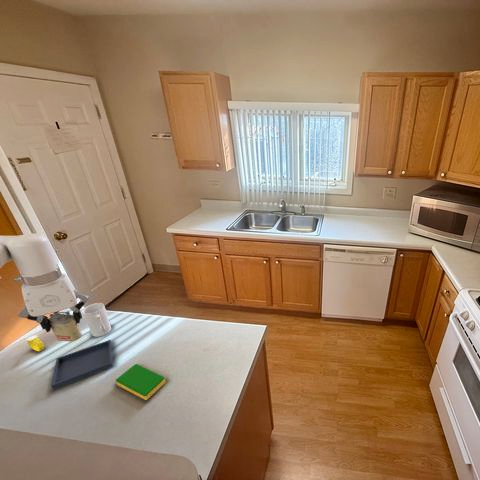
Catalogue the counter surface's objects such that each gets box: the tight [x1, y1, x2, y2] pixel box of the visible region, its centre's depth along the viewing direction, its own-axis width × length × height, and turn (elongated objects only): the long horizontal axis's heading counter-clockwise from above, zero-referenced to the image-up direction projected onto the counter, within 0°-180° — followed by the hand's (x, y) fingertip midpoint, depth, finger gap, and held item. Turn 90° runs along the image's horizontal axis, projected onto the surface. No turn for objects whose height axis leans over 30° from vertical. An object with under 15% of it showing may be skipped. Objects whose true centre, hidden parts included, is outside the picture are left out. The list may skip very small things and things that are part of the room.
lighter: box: [48, 311, 83, 343], centre depth 80 cm, size 7×4×10 cm, turn 87°
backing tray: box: [51, 339, 114, 391], centre depth 91 cm, size 15×13×2 cm
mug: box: [81, 302, 112, 338], centre depth 102 cm, size 10×7×12 cm, turn 52°
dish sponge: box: [115, 363, 166, 401], centre depth 85 cm, size 7×14×2 cm, turn 69°
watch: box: [26, 334, 45, 352], centre depth 94 cm, size 6×3×6 cm, turn 73°
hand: (64, 324), depth 80 cm, fingers closed on lighter, 6 cm apart
